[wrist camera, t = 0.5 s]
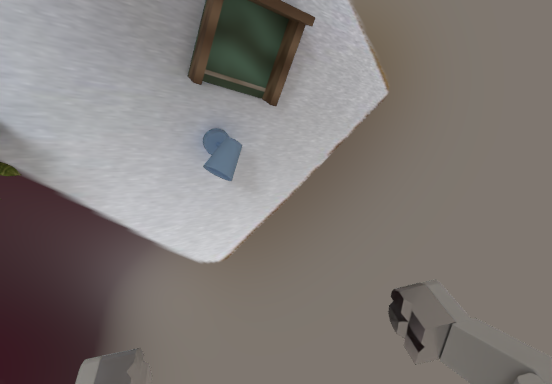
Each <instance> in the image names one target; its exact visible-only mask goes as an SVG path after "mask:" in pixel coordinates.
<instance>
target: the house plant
mask: <svg viewBox="0 0 552 384" xmlns="http://www.w3.org/2000/svg"><path fill="white" fill-rule="evenodd" d="M0 175H2V176H16V175H21V174H19V172H18V171H17V170H16V169H15V168H14V167H12V166H10V165H8V164H5V163H2V162H0Z"/></svg>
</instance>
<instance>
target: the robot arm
mask: <svg viewBox="0 0 552 384" xmlns="http://www.w3.org/2000/svg"><path fill="white" fill-rule="evenodd" d="M391 298H392V299H393V302H392V303H391V304H390V305H389V311H388V312H389V318H390V322H391V324H392V326H393V328H394V330H395V332H396V334H398V335H400V336H401V337H403V338H404V339H405V340H404V347H405V349H406V350H407V352H408V354H409V355H410V357H411V359H412V360H413V362H414V363H415V365H416V364H421V363H425V362H429V361H434V360H438V359H440V361H441V362H442V363H444V364H445V365H446V366H448V367H449V368H450V369H452V370H453V371H454V372H456V373H457V374H459V375H460V376H461V377H462V378H464V379H465V380H466V381H468V382H469V383H470V384H552V357H551V356H549V355H547V354H545V353H543V352H541V351H539V350H537V349H535V348H533V347H531V346H529V345H528V344H526V343H524V342H522V341H520V340H518V339H516V338H514V337H512V336H510V335H508V334H506V333H504V332H502V331H500V330H498V329H496V328H494V327H493V326H491V325H489V324H487V323H485V322H483V321H481V320H479V319H477V318H473V319H471V317H470V316H469V315H468V314H467V313H466V312H465V311H464V309H463V308H462V307H461V306H460V305H459V304H458V303H457V301H456V300H455V299H454V298H453V297H452V295H451V294H450V293H449V292H448V291H447V290H446V289H445V287H444V286H443V285H442V284H441V283H440V282H439V281H437V280H431V281H427V282H423V283H416V284H412V285H408V286H405V287H400V288H397V289H394V290H393V291H392V293H391ZM143 356H144V354H143V352H142V350H141V349H140V348H137V349H133V350H128V351H123V352H119V353H114V354H109V355H105V356H99V357H95V358H91V359H86V360H85V361H84V362H83V364H82V365H81V367H80V370H79V373H78V377H77V380H76V383H75V384H152V373H151V370H150V366H149V364H148V363H147V362H145V361H143Z"/></svg>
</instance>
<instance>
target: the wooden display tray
mask: <svg viewBox="0 0 552 384" xmlns="http://www.w3.org/2000/svg"><path fill="white" fill-rule="evenodd" d="M314 20H315V17H313V16H311V15H309V14H307V13H305V12H303V11H301V10H299V9H297V8H295V7H293V6H291V5H289V4H287V3H285V2H283V1H281V0H206V2H205V6H204V10H203V15H202V19H201V23H200V27H199V31H198V35H197V39H196V43H195V47H194V52H193V56H192V60H191V64H190V68H189V72H188V77H189V78H190V79H191V81H192V82H193V83H196V84H200V85H201V84H202V81H204V82H207V83H211V84H214V85H218V86H221V87H224V88H228V89H231V90H235V91H238V92H241V93H245V94H248V95H252V96H255V97H258V98H262V99H263V100H265V101H266V102H267V103H269V104H270V105H273V106H277V103H278V100H279V97H280V95H281V92H282V89H283V86H284V83H285V81H286V78H287V75H288V72H289V70H290V67H291V64H292V61H293V58H294V56H295V53H296V50H297V47H298V45H299V42H300V39H301V36H302V34H303V31H304V28H305V25H309V26H313V23H314Z"/></svg>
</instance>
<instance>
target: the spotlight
mask: <svg viewBox="0 0 552 384" xmlns="http://www.w3.org/2000/svg"><path fill="white" fill-rule="evenodd" d="M203 145H204V147H205V149H206V150H207V152H208V153H209V154H211V155H212V156H211V157H210V158H209V160H208V161H207V162H206V163H205V165H204V166H203V167H204V168H205V169H206V170H208V171H209V172H211V173H212V174H214V175H216V176H218V177H220V178H222V179H225V180H228V181H232V178H233V175H234V171H235V168H236V165H237V161H238V158H239V155H240V151H241V148H242V145H241V144H240V143H239V142H238V141H236V140H235V139H232V138H230V137H229V136H228V135H227V133H226V132H225V131H224V130H222V129H218V128H215V129H211V130H209V131H208V132H207V133H206V134H205V136H204V138H203Z"/></svg>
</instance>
